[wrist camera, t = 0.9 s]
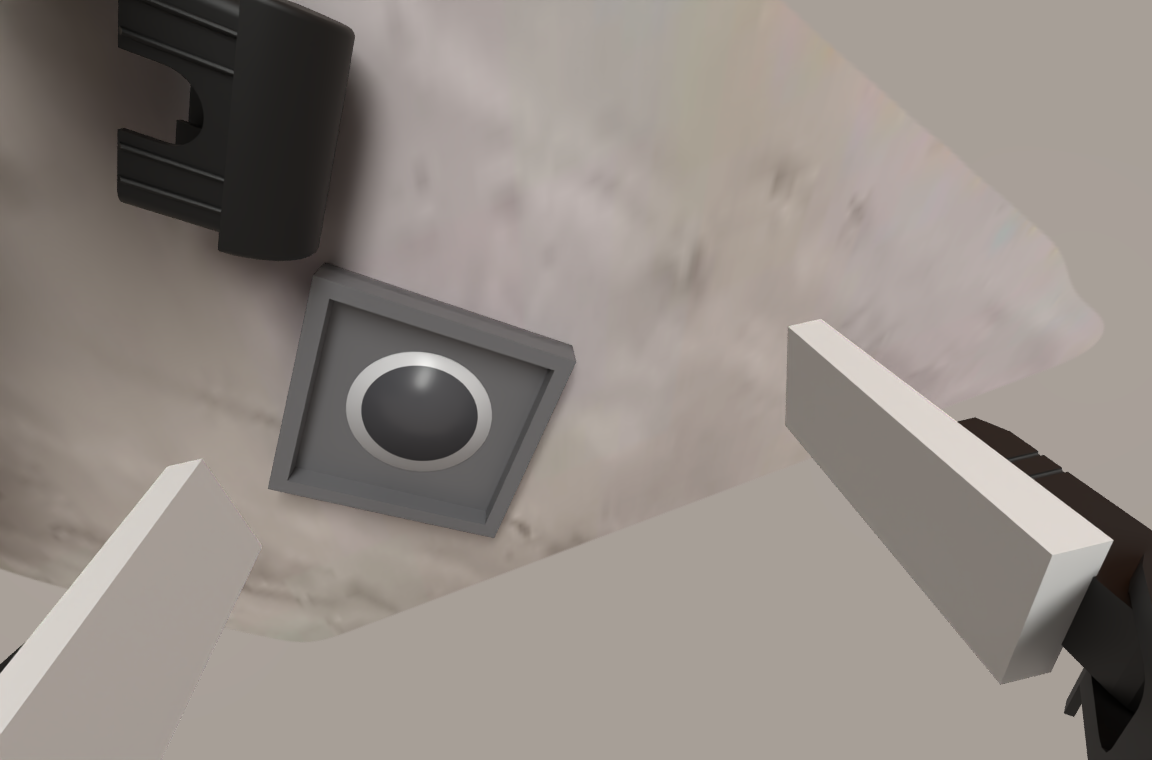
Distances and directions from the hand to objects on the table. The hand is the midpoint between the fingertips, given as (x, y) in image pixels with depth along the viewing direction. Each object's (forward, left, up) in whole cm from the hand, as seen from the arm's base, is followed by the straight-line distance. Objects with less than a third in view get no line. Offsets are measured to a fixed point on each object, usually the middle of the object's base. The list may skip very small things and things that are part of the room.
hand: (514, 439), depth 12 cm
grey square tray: (-1, -13, -21) cm, 25 cm away
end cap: (-12, +1, -21) cm, 24 cm away
